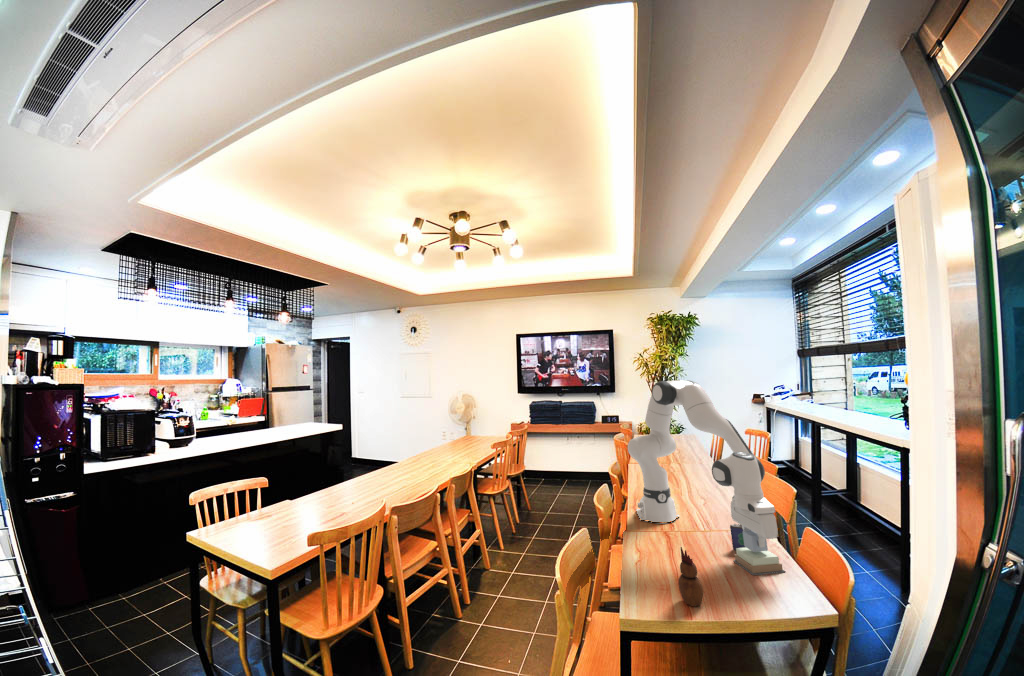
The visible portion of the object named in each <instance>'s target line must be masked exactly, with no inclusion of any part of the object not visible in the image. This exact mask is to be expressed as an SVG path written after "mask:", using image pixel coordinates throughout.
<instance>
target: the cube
mask: <svg viewBox="0 0 1024 676" xmlns="http://www.w3.org/2000/svg"><path fill="white" fill-rule="evenodd" d="M742 532H743V539H744V546H745V547H746V548H748V549H750V550H751V551H753V552H758V551H769V550H768V549H769V548H768V540H767V539H766V540H765V547H763V548H761V547H759V546H758V545H757V541H758V539H759V537H758V535H757V533H755V532H753V531H752V530H750V531H742Z"/></svg>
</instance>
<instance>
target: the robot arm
mask: <svg viewBox="0 0 1024 676" xmlns="http://www.w3.org/2000/svg"><path fill="white" fill-rule="evenodd" d="M676 406H682V407H683V410H684V413H685V414H686V417H687V419H688V421H689V423H690V424H691V425H692V426H693V428H695V429H696V430H699V431H700V432H703V433H709V434H712V435H715V436H718V437H720V438H721V439H723V440H724V441H725V442H726V443H727V445H728V446H729V448H730V450H731V451H732V453H731V454H730V455H729V456H728V457H725V458H721V459H718V460H715V461H714V462H713V464H712V467H711V475H712V478H713V480H715V482H716V483H717V484H719V485H720V486H722V487H731V488H733V493H734V494H733V496H732V497H731V502H730V516H731V518H732V521H734V522H736V523H737V524H741V525H742V529H743V531H750V530H752V531H753V532H755V533H757V535H758V537H759V539H758V541H757V545H758V546H759V547H761V548H763V547H765V540H766V541H767V540H771V539H776V538H778V536H779V535H778V534H779V533H778V532H779V531H778V524H777V519H776V516H775V514H774V513H776V508H775V506H774V505H773V504H772V503H771V502H770V501H769V500H768V499H767V498H766V497H764V492H763V488H762V485H761V484H762V482H763V480H764V479H765V474H766V471H765V470H766V469H765V467H764V465H763V463H762V462H761V461H760V459H758V457H756V456H755V454H754V453H753V451H752V450H751V449H750V448H749V446H748V445H747V443H746V442H745V440H744V439H743V437H742V436H741V435H740V433H739V431H738V430H737V429H736V427H735V426H734V425H733V424H732V422H731V421H730V420H729V419H727V418H725V417H724V416H723V415H722V414H721V413H720V412H719V411H718V410H717V408H716V407H715V405H714V403H713V401H712V399H711V398H710V396H709V395H708V393H707V392H706V390H705V389H704V388H703V387H702V385H700V384H699V383H698V382H695V381H693V380H683V379H676V380H675V379H674V380H667V381H666V380H660V381H658V382H655V383H654V384H653V385H652V389H651V395H650V398H649V402H648V406H647V411H646V413H645V414H646V415H645V424H646V426H647V427H648V428H649V429H650V432H649V434H646V435H640V436H635V437H634V438H631V439H629V441H628V443H627V453H628V454H629V455H630V457H631V458H632V459H634V460H635V461H636V462H637V464H638V465H639V467H640V470H641V473H642V479H643V490H642V492H643V495H642V497H641V498H640V500H639V502H637V509H635V512H636V511H637V513H636V515H637V514H638V515H637V517H638V516H639V517H638V519H639V518H640V519H641V520H649V521H652V522H670V521H673V520H675V519H676V517H678V516H679V517H680V514H677V510H676V509H677V508H676V504H675V500H674V498H672V496H671V489H670V486H669V478H668V472H667V470H666V469H665V468H664V467H662V466H661V465H660V464H659V462H658V458H663V457H667V456H669V455H671V454H673V453H674V452H675V451H676V449H677V443H676V440H675V438H674V437H673V435H671V432H670V431H671V430H670V427H671V420H672V417H673V412H674V407H676ZM639 508H640V509H639ZM676 514H677V515H676ZM640 519H639V520H640ZM641 520H640V521H641ZM676 520H677V519H676ZM652 522H651V523H652Z"/></svg>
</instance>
